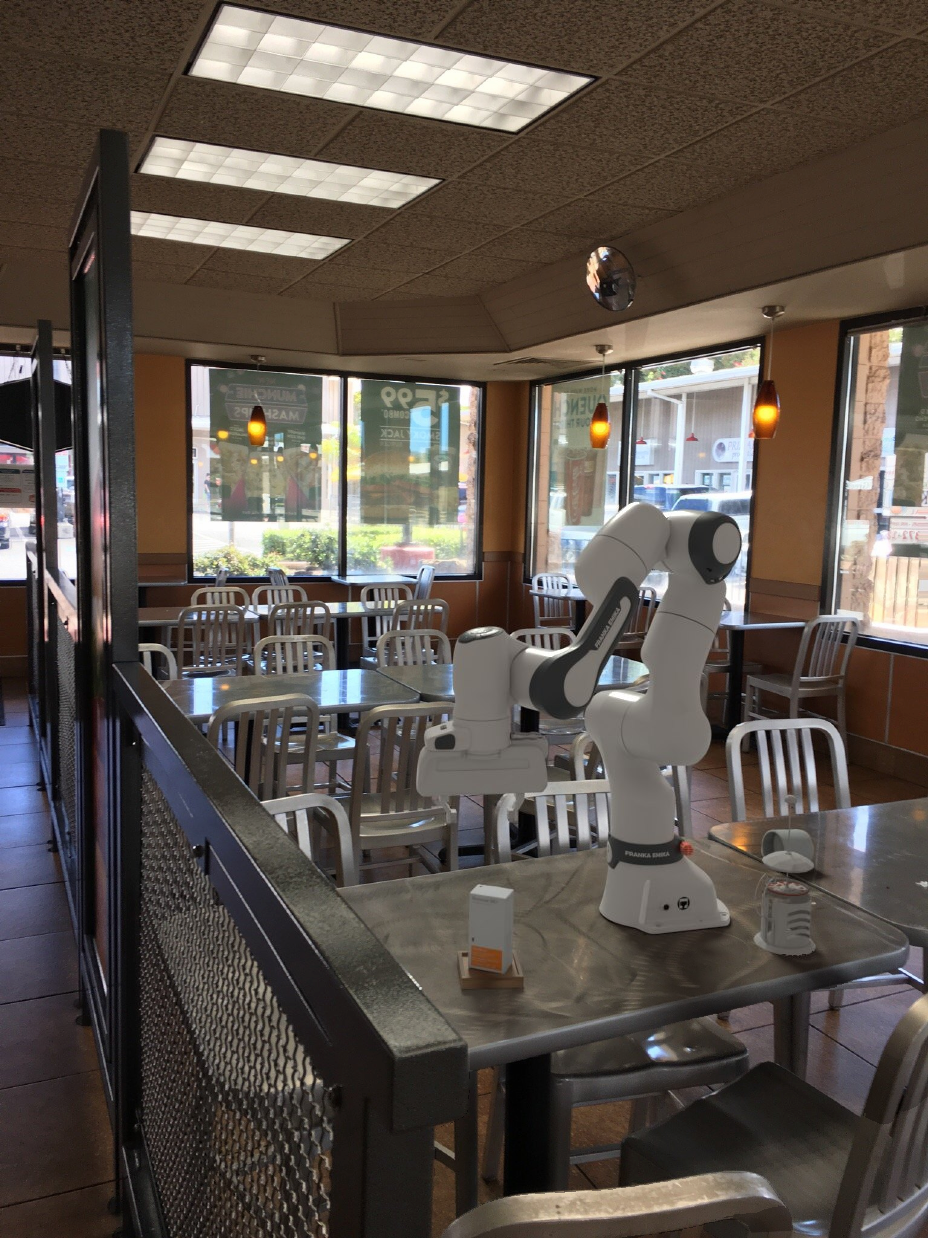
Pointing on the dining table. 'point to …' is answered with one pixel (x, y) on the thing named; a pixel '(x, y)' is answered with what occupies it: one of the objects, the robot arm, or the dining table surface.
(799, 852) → the ceramic mug
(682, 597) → the robot arm
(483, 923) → the skincare box
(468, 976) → the walnut tray
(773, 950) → the french press
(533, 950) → the dining table surface
